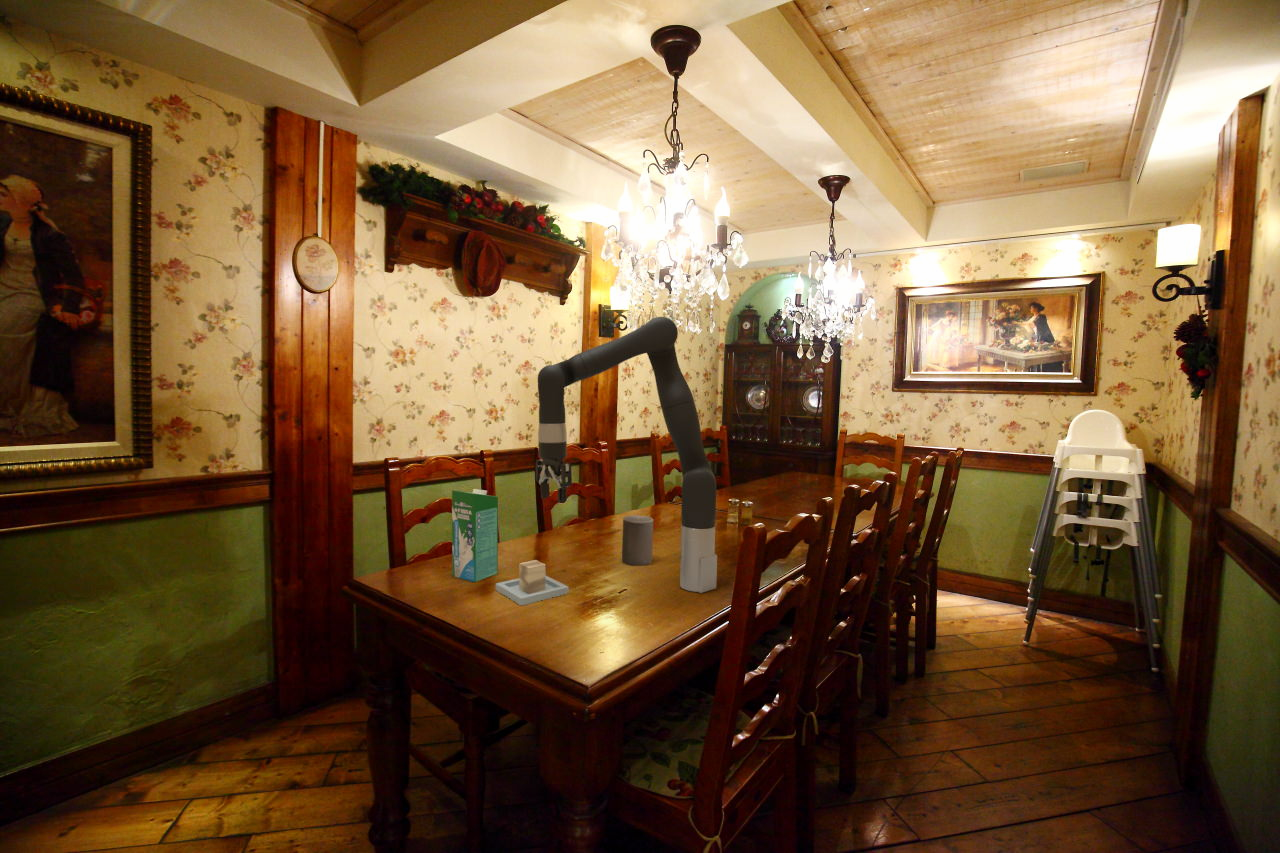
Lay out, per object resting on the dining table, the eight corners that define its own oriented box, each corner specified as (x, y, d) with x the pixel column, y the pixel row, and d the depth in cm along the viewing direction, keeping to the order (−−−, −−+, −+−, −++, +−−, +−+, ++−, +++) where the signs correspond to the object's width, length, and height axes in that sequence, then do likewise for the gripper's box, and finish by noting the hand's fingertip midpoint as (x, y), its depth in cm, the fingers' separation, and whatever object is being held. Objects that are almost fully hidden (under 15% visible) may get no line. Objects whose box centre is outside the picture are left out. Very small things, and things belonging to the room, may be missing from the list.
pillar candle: (617, 563, 178) (618, 516, 177) (627, 555, 188) (628, 510, 186) (647, 567, 175) (649, 519, 174) (655, 558, 185) (657, 512, 184)
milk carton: (498, 573, 167) (498, 488, 165) (474, 582, 159) (474, 493, 158) (475, 568, 172) (475, 485, 170) (452, 576, 164) (451, 489, 162)
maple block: (545, 590, 152) (545, 564, 152) (528, 594, 149) (528, 568, 149) (535, 585, 156) (535, 559, 156) (519, 589, 153) (519, 563, 152)
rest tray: (568, 593, 152) (568, 586, 152) (521, 605, 143) (521, 598, 143) (541, 579, 162) (541, 573, 162) (495, 590, 153) (495, 583, 153)
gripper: (579, 440, 151) (580, 501, 152) (550, 437, 162) (550, 494, 163) (555, 442, 146) (556, 505, 147) (526, 439, 157) (527, 498, 158)
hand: (553, 499), depth 155 cm, fingers open, 8 cm apart
